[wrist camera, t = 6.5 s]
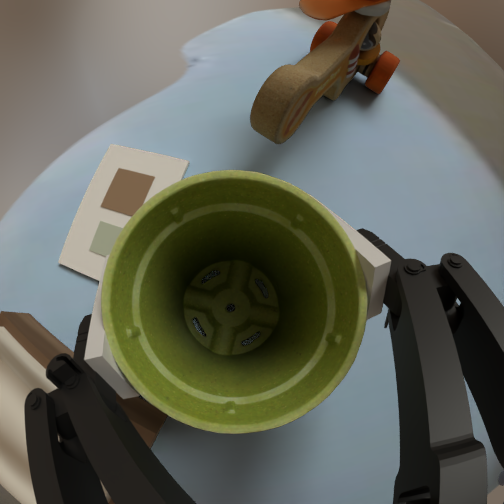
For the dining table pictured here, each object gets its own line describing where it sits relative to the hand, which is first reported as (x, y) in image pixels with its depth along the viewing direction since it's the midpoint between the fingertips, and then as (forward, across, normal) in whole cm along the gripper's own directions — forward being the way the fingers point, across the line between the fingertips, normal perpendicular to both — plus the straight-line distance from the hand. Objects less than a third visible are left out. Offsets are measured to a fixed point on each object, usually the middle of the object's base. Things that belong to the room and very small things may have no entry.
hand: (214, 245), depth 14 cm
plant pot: (+1, 0, -5) cm, 5 cm away
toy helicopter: (+11, +13, +5) cm, 18 cm away
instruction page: (+7, -6, +1) cm, 9 cm away
